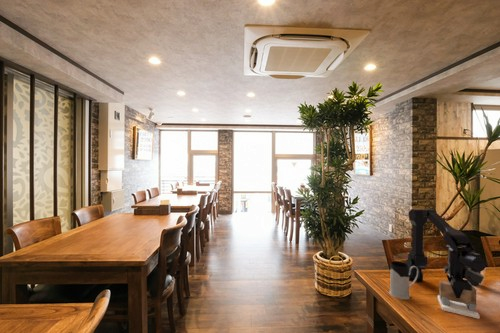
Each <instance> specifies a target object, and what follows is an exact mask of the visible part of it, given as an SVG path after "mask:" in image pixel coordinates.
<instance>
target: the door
mask: <svg viewBox="0 0 500 333" xmlns="http://www.w3.org/2000/svg"><path fill="white" fill-rule="evenodd" d="M438 285H439V293H438V295H440V298H442V297H446V298H448V299H449V300H450V301H455V302H459V303H464V304H468V305H469V303H473V304H476V305H477V289H476V288H475V286H473V291H469V290H464V289H463V291H462V294H461V296H460V298H456V296H455V294H454V291H453V289H452V286H451V284H450V282H449V281H446V280H439V283H438Z"/></svg>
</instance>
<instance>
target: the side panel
mask: <svg viewBox="0 0 500 333" xmlns="http://www.w3.org/2000/svg"><path fill="white" fill-rule="evenodd" d="M437 300H438V303H439V305H440V307H441V310H442V311H445V312H449V313H453V314H458V315H461V316H466V317H470V318H474V319H478V320H480V314H479V312H478V310H477V303H476V304H473V303H469V305H468V304H464V303H459V302H455V301H450V300H449V299H448V298H446V297H442V298H440V295H439V294H437Z"/></svg>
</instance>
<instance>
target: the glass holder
mask: <svg viewBox="0 0 500 333" xmlns="http://www.w3.org/2000/svg"><path fill="white" fill-rule="evenodd" d="M413 267H416V266H412V267H411V268H410V270H409V265H408V264H406V263H404V261H403V262H402V261H397V260H392V261H391V262H390V272H389V273H390V274H389V275H390V277H389V278H390V281H389V282H390V287H389V288H390V289H389V291H388V292H389V295H391V296H392V297H393V298H396V299H399V300H407V301H408V300H409V299H411V295H410V288H411V287H412V286H413V285H414V284H415V283H417V281H416V280H417V278H418V273H419V271H418V268H417V267H416V268H417V275H416V278H415V280H414V281H412V282H411V283H410V280H409V275H410V274H411V269H412V268H413Z"/></svg>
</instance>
